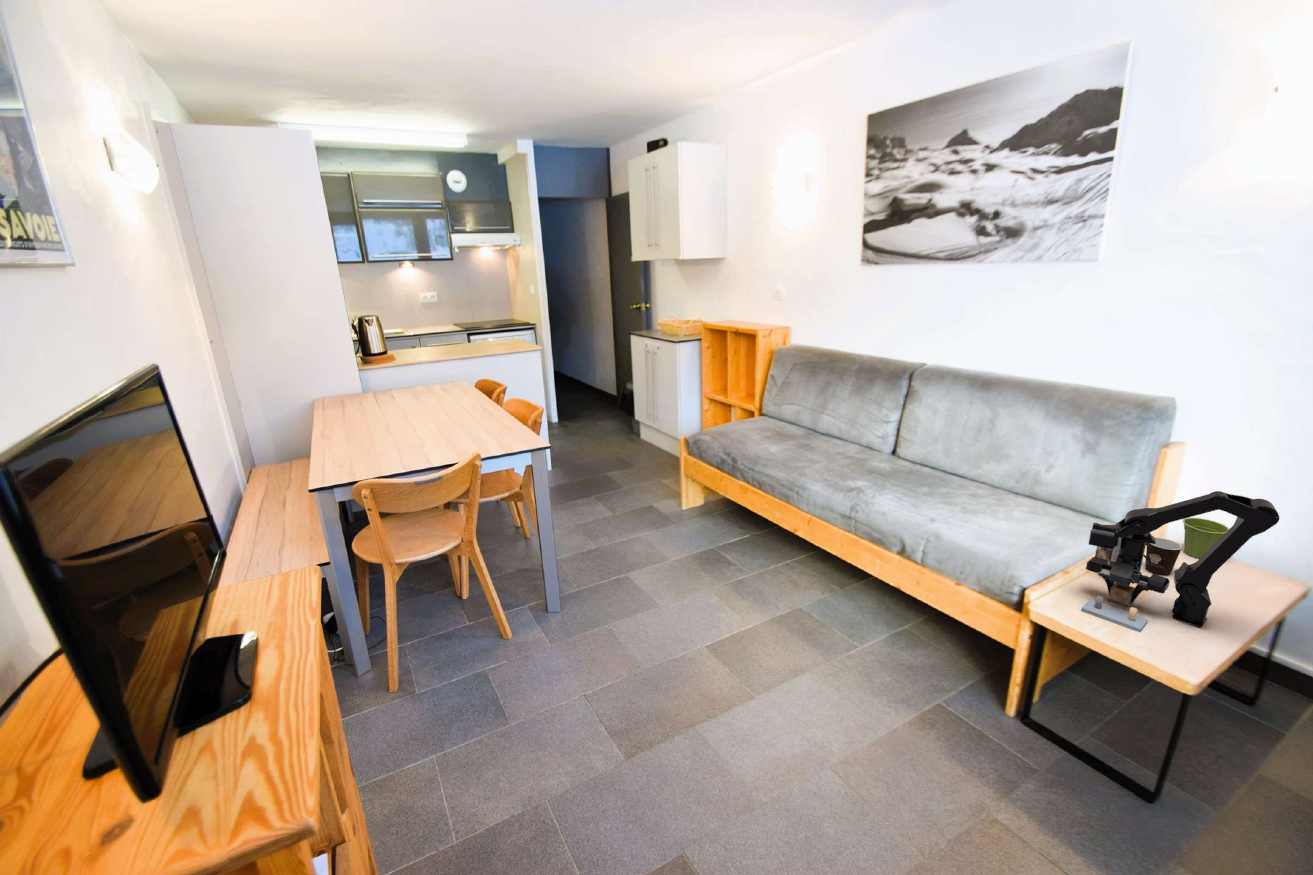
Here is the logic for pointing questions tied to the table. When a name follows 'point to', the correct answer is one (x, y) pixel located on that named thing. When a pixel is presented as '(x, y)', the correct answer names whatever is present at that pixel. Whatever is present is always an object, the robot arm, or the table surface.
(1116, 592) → the sleeve
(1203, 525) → the plant pot
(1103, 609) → the pin board
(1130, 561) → the robot arm
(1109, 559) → the coffee box
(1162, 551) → the coffee mug
